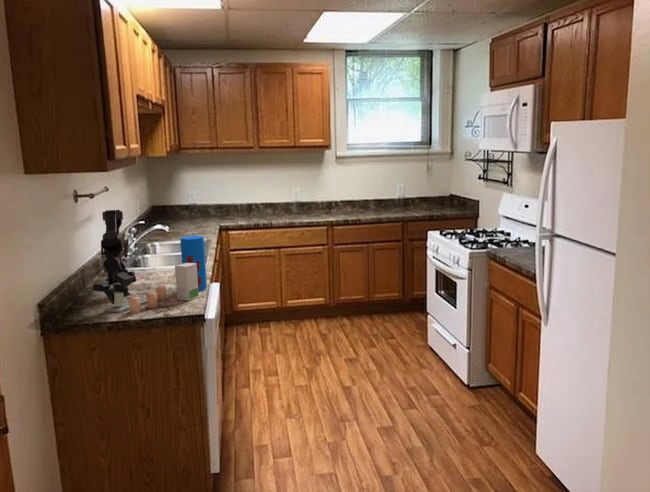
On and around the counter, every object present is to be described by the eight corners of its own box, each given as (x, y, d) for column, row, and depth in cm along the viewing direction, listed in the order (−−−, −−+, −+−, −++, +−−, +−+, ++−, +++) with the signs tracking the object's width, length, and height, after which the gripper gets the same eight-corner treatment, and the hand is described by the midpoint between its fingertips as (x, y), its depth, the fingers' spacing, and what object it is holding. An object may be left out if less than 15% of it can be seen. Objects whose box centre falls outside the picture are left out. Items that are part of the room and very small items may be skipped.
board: (104, 310, 228) (104, 308, 228) (138, 298, 245) (138, 296, 244) (120, 313, 224) (120, 310, 224) (153, 300, 241) (153, 298, 241)
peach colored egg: (127, 312, 224) (125, 298, 223) (135, 309, 228) (133, 296, 227) (135, 314, 222) (133, 300, 221) (142, 311, 226) (141, 297, 225)
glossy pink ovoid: (154, 300, 241) (153, 287, 240) (161, 298, 245) (160, 285, 244) (162, 301, 239) (161, 288, 238) (168, 299, 243) (167, 286, 242)
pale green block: (110, 305, 228) (109, 294, 227) (117, 302, 232) (116, 291, 231) (117, 306, 226) (116, 295, 225) (124, 303, 230) (123, 292, 229)
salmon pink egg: (144, 308, 230) (144, 294, 229) (151, 305, 234) (150, 291, 233) (153, 308, 229) (152, 295, 228) (160, 306, 233) (159, 292, 232)
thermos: (190, 285, 266) (186, 235, 262) (210, 286, 264) (207, 235, 260) (179, 291, 256) (176, 239, 251) (201, 292, 254) (197, 239, 249)
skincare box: (188, 301, 239) (186, 266, 236) (176, 299, 242) (173, 265, 239) (199, 296, 247) (197, 262, 244) (187, 295, 249) (185, 262, 246)
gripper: (109, 272, 214) (113, 310, 217) (144, 263, 231) (147, 298, 234) (89, 270, 219) (93, 307, 222) (124, 261, 236) (128, 295, 238)
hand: (116, 302), depth 229 cm, fingers closed on pale green block, 4 cm apart
